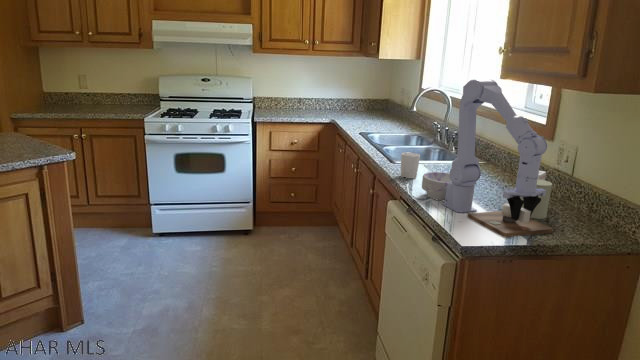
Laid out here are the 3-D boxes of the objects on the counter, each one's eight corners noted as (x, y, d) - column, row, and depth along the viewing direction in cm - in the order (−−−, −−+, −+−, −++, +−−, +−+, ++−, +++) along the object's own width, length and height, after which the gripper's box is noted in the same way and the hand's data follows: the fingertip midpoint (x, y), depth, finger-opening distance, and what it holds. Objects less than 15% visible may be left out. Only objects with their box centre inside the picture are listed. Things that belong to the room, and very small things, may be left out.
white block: (498, 212, 151) (499, 202, 150) (510, 211, 153) (512, 201, 152) (519, 223, 143) (521, 212, 142) (532, 221, 144) (534, 211, 144)
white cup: (421, 178, 203) (423, 155, 200) (405, 179, 200) (407, 156, 197) (411, 174, 210) (413, 152, 207) (395, 175, 207) (397, 152, 204)
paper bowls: (452, 206, 167) (455, 184, 165) (413, 196, 176) (415, 176, 174) (468, 197, 178) (471, 177, 176) (431, 189, 187) (433, 169, 185)
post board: (467, 216, 156) (468, 208, 155) (511, 213, 162) (512, 205, 161) (504, 237, 140) (506, 227, 139) (552, 232, 146) (554, 223, 145)
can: (538, 210, 167) (544, 177, 164) (551, 219, 158) (558, 184, 155) (513, 209, 167) (518, 176, 164) (524, 218, 158) (530, 183, 155)
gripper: (517, 180, 136) (510, 225, 140) (556, 178, 141) (548, 221, 145) (500, 174, 143) (494, 217, 146) (538, 173, 147) (531, 214, 151)
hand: (520, 219), depth 146 cm, fingers open, 4 cm apart
